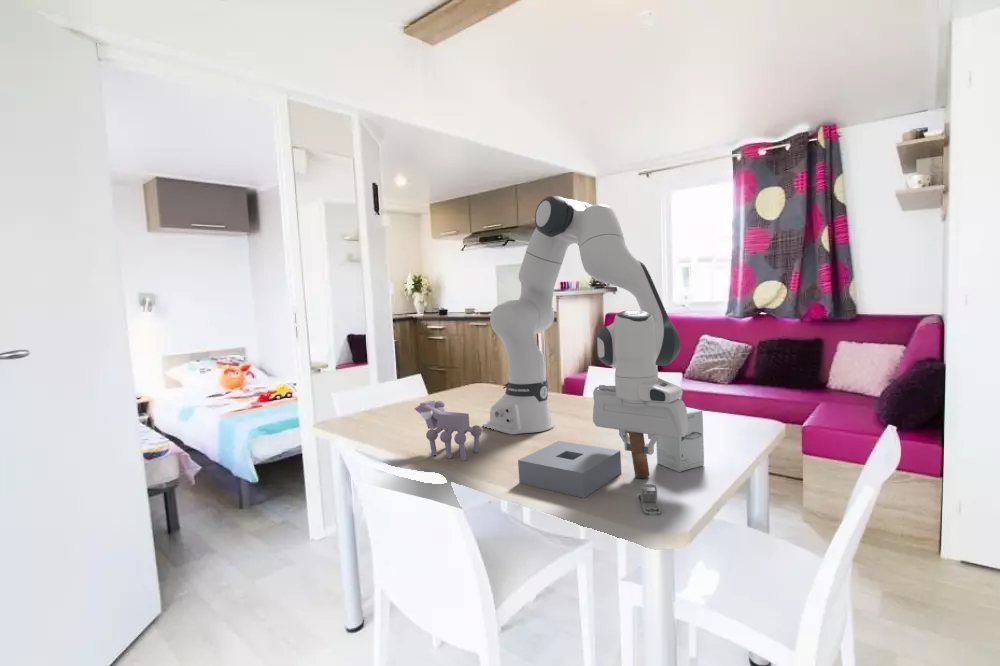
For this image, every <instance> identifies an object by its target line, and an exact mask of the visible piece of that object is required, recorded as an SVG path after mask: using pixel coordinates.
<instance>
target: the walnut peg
mask: <svg viewBox="0 0 1000 666" xmlns="http://www.w3.org/2000/svg"><path fill="white" fill-rule="evenodd" d="M628 432H629V433H628V436H629V439H630V445H631V451H630V452H631V457H632V464H633V465H632V466H633V471H634V477H635V478H639V479H646V478H649V477H650V469H649V462H648V454H644V445H646V441H645V436H644V433H637V432H631V431H628Z"/></svg>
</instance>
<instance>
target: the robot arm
mask: <svg viewBox="0 0 1000 666" xmlns="http://www.w3.org/2000/svg"><path fill="white" fill-rule="evenodd" d="M534 224H535V229H534V231H533V233H532V235H531V237H530V239H529V242H528V244H527V247H526V250H525V253H524V257H523V259H522V262H521V265H520V269H519V272H518V280H519V282H520V284H521V285H520V286H521V288H520V289H521V290H520V297H519V298H518V299H512V300H506V301H504V302H502V303H500V304H498V305H496V306H495V307H494V308H493V309H492V310H491V313H490V317H489V321H490V322H489V323H490V326H491V329H492V331H493V332H494V333H495V334H496V335H497V336H498V337H499V338H500V340H501V342H502V346H503V347H504V351H505V354H506V357H507V358H506V360H507V366H508V367H507V368H508V380H509V381H508V382H507V383H505V384H502V385H501V386H503V387H502V389H504V390H505V389H506V390H505V392H504V393H505V394H504V395H503V396H502V397H500V398H499V399H498V400H497V401H496V402H495V403H494V404H492V406H491V408H490V411H489V419H487V420H486V421H484V422H483V423H482V427H483V426H484V427H483V428H485V427H487V428H486V429H489V428H491V429H490V430H493V429H494V430H493V431H497V432H501V433H505V434H509V435H518V434H528V433H529V434H531V433H532V434H533V433H538V432H539V433H540V432H544V431H548V430H551V429H553V428H554V425H555V424H554V422H553V419H552V416H551V412H550V406H549V402H548V396H549V395H548V394H549V387H548V380H547V379H546V366H545V365H546V363H545V361H546V360H545V355H544V352H543V351H542V350H540V348H539V347H538V344H537V341H536V337H535V335H537V334H541V333H542V332H544V331H546V330H548V329H549V328H551V326H552V325H553V323H554V321H555V315H556V314H555V310H554V308H553V298H554V297H553V296H554V290H555V285H556V283H557V281H558V280H557V279H558V277H559V274H560V270H561V268H562V265H563V262H564V260H565V259H564V258H565V256H566V251H567V250H568V247H569V246H571V245H572V244H577V246H578V250H579V255H580V259H581V260H580V261H581V264H582V267H583V269H584V271H585V272H586V274H588V276H590V277H591V278H592V279H594V280H595V281H598V282H600V283H603V284H608V285H610V286H615V287H618V288H620V289H623V290H625V291H627V292H629V293H630V294H632V296H634V297H635V299H636V301H637V305H638V306H639V308H640V310H638V309H637V310H636V309H634V310H633V309H631V310H630V309H629V310H623V311H620V312H618V313H617V314H616V315H615V316H614V320H613V322H612V323H611V324H610V325H606V326H604V327H603V328H602V329H601V330H600V331H599V332H598V333H597V334H596V336H595V343H596V347H595V348H596V349H595V351H596V357H597V359H598V360H599V361H600V362H601V363H603V365H605V366H607V367H612V368H615V371H614V384H615V385H605V384H600V385H598V386H596V387H595V388H594V390H593V394H592V395H593V397H592V398H593V411H592V422H593V424H594V425H595V427H598V428H605V429H611V430H618V436H619V437H620V439H621V441H622V442H623V443H624V444H623V445H624V450H625V451H627V452H631V445H630V439H629V432H628V431H631V432H637V433H643V434H645V435H647V439H648V440H650V441H649V442H648V443H645V445H644V454H646V455H649V456H652V455H653V454H654V450H655V449H654V445H656V441H657V439H658V438H659V436H664V437H671V438H681V437H683V436H684V435H685V434H686V433H687V432H688V417H687V411H686V407H687V406H686V404H685V403H684V401H683V399H681V397H682V396H683V388H682V387H681V386H679V385H677V384H674V383H670V382H669V381H666V380H664V379H662V378H659V371H658V368H657V366H659V367H660V366H664V367H665V366H668V365H670V364H671V363H672V362H673V361H674V360H675V359H676V358H677V357H678V355H679V354H680V351H681V347H682V346H681V345H682V344H681V338H680V335H679V332H678V330H677V328H676V326H675V325H674V323H673V322H672V320H671V319H670V318H669V315H668V313H667V311H666V309H665V306H664V303H663V302H662V299H661V297H660V295H659V293H658V290H657V288H656V285H655V283H654V281H653V279H652V276H651V274H650V272H649V270H648V268H647V267H646V265H645V264H644V263H643V261H640V260H638V259H637V258H636V257H634V255H633V254H632V253H631V252H630V250H629V249H628V247H627V244H626V242H625V238H624V233H623V231H622V227H621V224H620V221H619V220H618V217H617V216H616V212H615V211H614V210H613V209H612V207H610V206H609V205H606V204H603V203H598V204H590V203H587V202H585V201H581V200H576V199H569V198H565V197H563V196H559V195H549V196H545V197H544V198H543V199H542V200H541V201H540V202H539V204H538V205H537V206H536V210H535V215H534Z"/></svg>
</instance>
